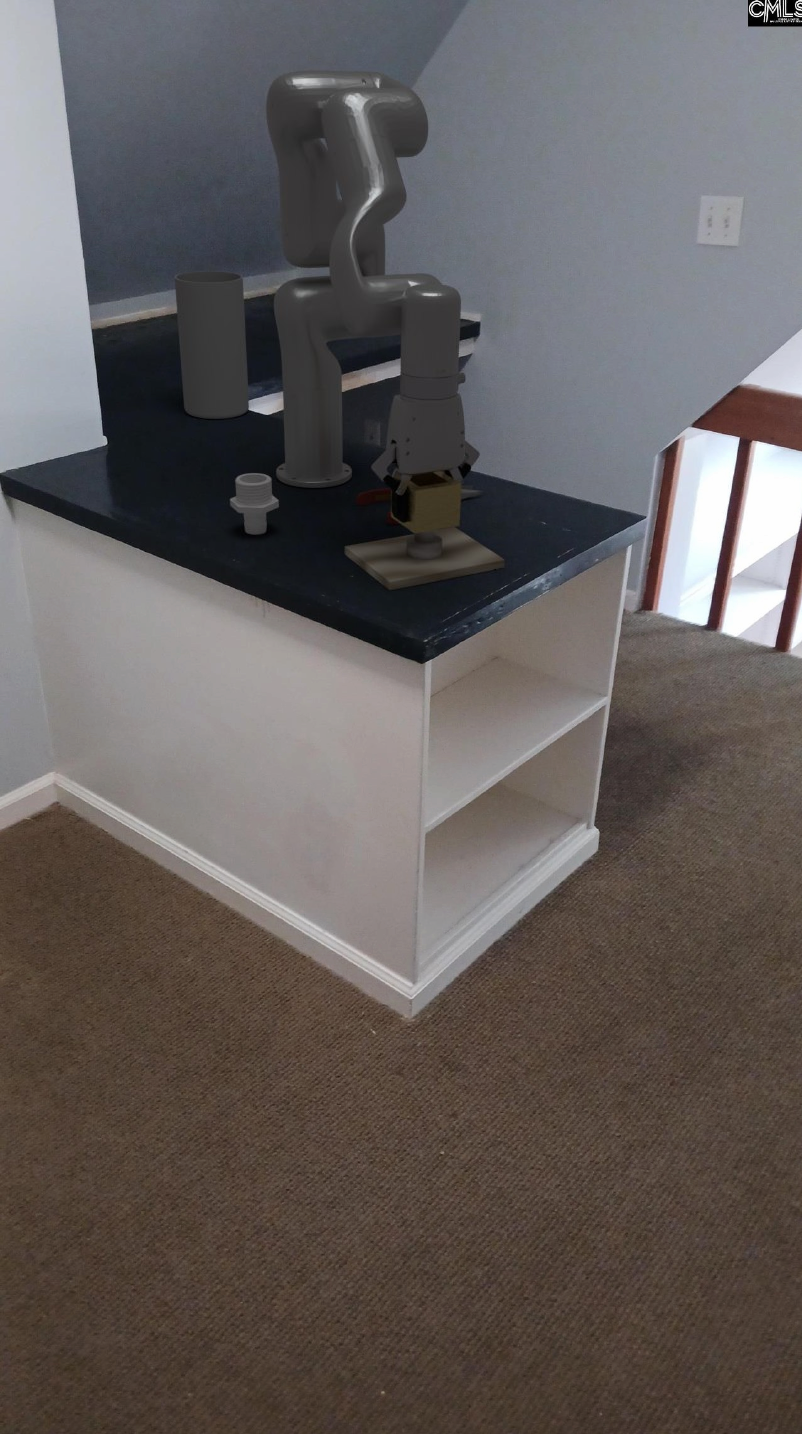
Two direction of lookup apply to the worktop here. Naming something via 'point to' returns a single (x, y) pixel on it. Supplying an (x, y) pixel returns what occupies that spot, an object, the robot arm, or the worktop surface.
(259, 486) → the pipe fitting
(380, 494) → the pliers
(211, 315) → the cylinder vase
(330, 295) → the robot arm
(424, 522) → the hollow wooden cube
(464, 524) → the worktop surface
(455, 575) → the post stand
